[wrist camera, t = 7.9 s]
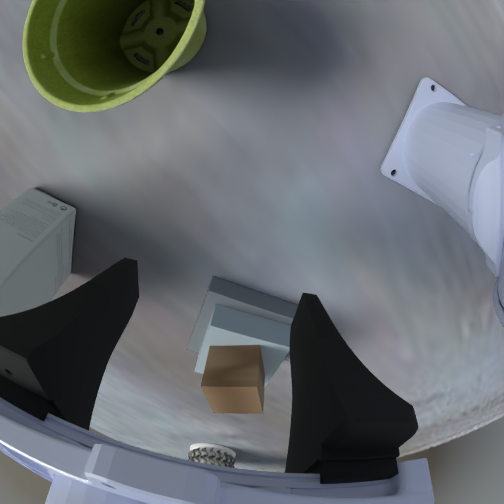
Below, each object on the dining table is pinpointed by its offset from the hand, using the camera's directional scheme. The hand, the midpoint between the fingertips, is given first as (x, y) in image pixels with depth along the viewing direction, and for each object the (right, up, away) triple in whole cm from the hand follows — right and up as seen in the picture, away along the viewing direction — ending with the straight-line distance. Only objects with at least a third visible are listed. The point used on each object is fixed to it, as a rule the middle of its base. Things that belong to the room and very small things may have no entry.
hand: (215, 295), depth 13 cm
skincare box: (-17, +4, +12) cm, 21 cm away
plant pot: (-4, +16, +3) cm, 17 cm away
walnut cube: (0, -7, +11) cm, 13 cm away
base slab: (+1, -4, +16) cm, 16 cm away
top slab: (+1, -6, +13) cm, 15 cm away
